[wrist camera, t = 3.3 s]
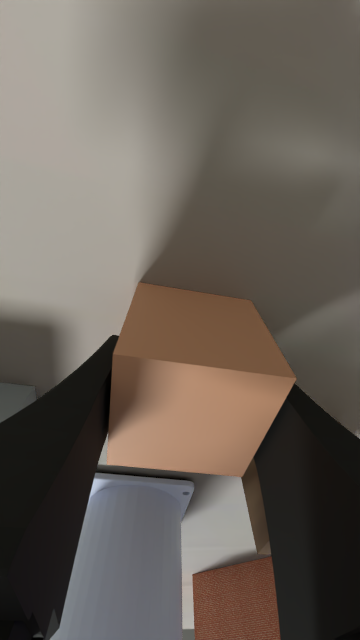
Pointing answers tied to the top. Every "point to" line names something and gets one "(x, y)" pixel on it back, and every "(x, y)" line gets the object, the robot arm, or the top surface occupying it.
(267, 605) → the house
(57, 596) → the robot arm
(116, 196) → the top surface
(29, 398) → the slate block
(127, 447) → the terracotta block
